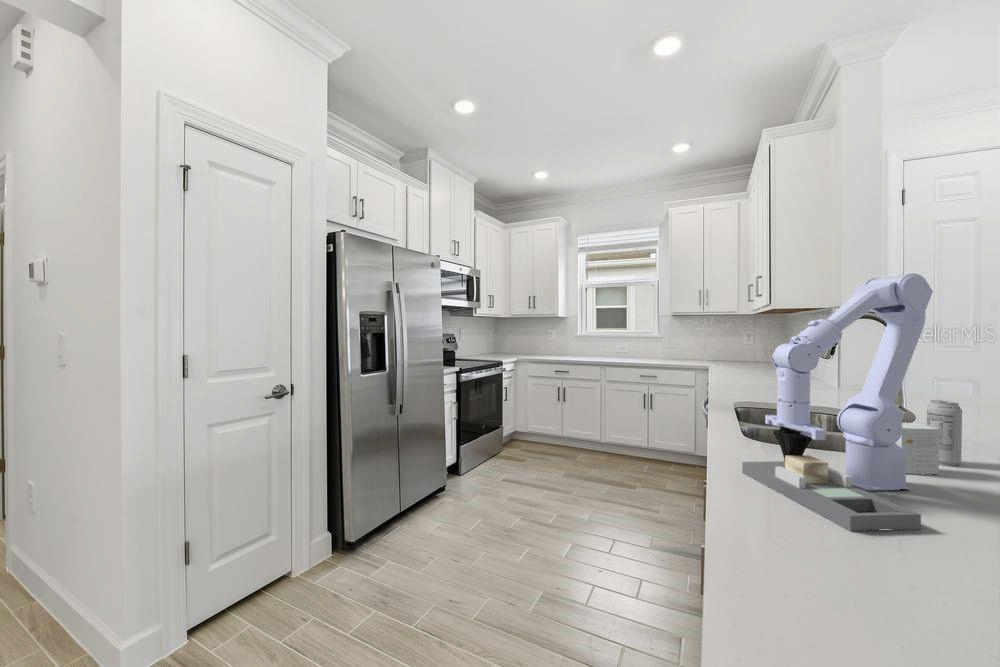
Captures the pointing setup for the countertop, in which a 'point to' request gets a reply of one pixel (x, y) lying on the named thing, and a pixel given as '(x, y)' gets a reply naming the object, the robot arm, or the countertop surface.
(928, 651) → the countertop surface
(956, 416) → the energy drink can
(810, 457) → the block
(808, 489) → the grey long flat tray
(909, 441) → the small box
